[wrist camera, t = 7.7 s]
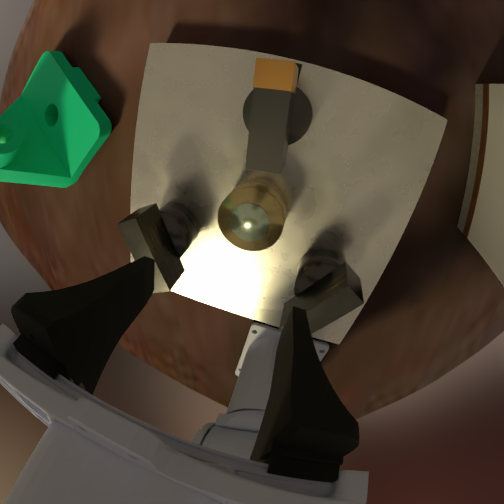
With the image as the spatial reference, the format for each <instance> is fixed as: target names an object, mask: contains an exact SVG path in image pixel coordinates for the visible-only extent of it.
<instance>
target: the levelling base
mask: <svg viewBox="0 0 504 504" xmlns="http://www.w3.org/2000/svg"><path fill="white" fill-rule="evenodd" d="M256 58H267V59H278V60H288V61H295V63H296V65H297V67H298V68H299V70H298V78H297V86H296V87H298V88H299V89H300V90H302V91H303V92H304V93H305V95H306V96H307V97H308V98H309V100H310V102H311V105H312V109H313V118H312V122H311V124H310V127H309V129H308V131H307V132H306V134H305V135H304V136H303V137H302V138H301V139H300V140H298V141H297V142H295V143H293V144H291V145H288V152H287V159H286V164H285V166H284V167H283V169H282V171H281V173H280V174H276V173H270V172H264V171H258V170H251V169H245V165H246V155H247V145H248V135H249V131H248V130H247V128H246V126H245V123H244V120H243V106H244V102H245V100H246V98H247V96H248V95H249V93H250V92H251V91H252V90H253V81H254V72H255V63H256ZM446 123H447V119H445V118H443V117H442V116H440V115H438V114H436V113H434V112H432V111H431V110H429V109H427V108H425V107H423V106H421V105H419V104H417V103H415V102H413V101H411V100H408V99H406V98H404V97H402V96H400V95H398V94H395V93H393V92H391V91H388V90H386V89H384V88H381V87H379V86H376V85H374V84H371V83H369V82H366V81H363V80H361V79H358V78H355V77H352V76H349V75H346V74H343V73H340V72H337V71H334V70H331V69H328V68H324V67H321V66H317V65H314V64H310V63H306V62H302V61H298V60H294V59H290V58H286V57H281V56H277V55H272V54H267V53H261V52H255V51H249V50H243V49H236V48H229V47H220V46H210V45H198V44H181V43H150V48H149V52H148V57H147V62H146V67H145V72H144V78H143V83H142V89H141V96H140V102H139V109H138V117H137V125H136V133H135V143H134V154H133V167H132V184H131V212H130V215H129V216H127V217H126V218H125V219H123V220H122V221H121V222H119V223H118V226H119V229H120V231H121V233H122V235H123V237H124V239H125V242H126V244H127V246H128V248H129V250H130V252H131V262H133V261H135V260H137V259H139V258H141V257H144V256H146V257H149V258H152V259H154V260H155V276H154V291H153V293H156V292H167V291H170V290H171V291H173V292H176V293H179V294H181V295H184V296H187V297H190V298H192V299H195V300H198V301H201V302H203V303H206V304H209V305H212V306H215V307H218V308H221V309H224V310H226V311H229V312H232V313H235V314H238V315H241V316H245V317H248V318H251V319H254V320H257V321H260V322H263V323H266V324H270V325H273V326H276V327H279V329H280V330H281V331H282V330H283V328H284V325H285V323H286V321H287V319H288V317H289V314H290V312H291V310H292V307H293V306H295V307H298V308H301V309H305V310H306V312H307V318H308V323H309V327H310V332H311V335H312V337H314V338H317V339H321V340H325V341H328V342H332V343H336V344H340V343H341V341H342V340H343V338H344V337H345V335H346V333H347V332H348V330H349V329H350V327H351V326H352V324H353V323H354V321H355V319H356V318H357V316H358V315H359V313H360V311H361V310H362V308H363V306H364V305H365V303H366V301H367V300H368V298H369V296H370V295H371V293H372V291H373V289H374V288H375V286H376V284H377V282H378V280H379V279H380V277H381V275H382V273H383V271H384V270H385V268H386V266H387V264H388V262H389V260H390V258H391V256H392V254H393V252H394V251H395V249H396V247H397V245H398V243H399V241H400V239H401V236H402V234H403V232H404V230H405V228H406V226H407V224H408V222H409V220H410V217H411V215H412V213H413V211H414V209H415V206H416V204H417V202H418V199H419V197H420V195H421V192H422V190H423V187H424V185H425V182H426V180H427V177H428V175H429V172H430V170H431V167H432V164H433V162H434V159H435V156H436V154H437V151H438V148H439V145H440V142H441V139H442V136H443V133H444V130H445V127H446Z"/></svg>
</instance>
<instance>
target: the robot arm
mask: <svg viewBox="0 0 504 504" xmlns="http://www.w3.org/2000/svg"><path fill="white" fill-rule="evenodd" d="M154 276H155V260H154V259H152V258H149V257H146V256H144V257H141V258H139V259H137V260H135V261H133V262H131V263H129V264H127V265H125V266H123V267H121V268H119V269H117V270H114V271H112V272H110V273H108V274H105V275H103V276H101V277H98V278H96V279H94V280H91V281H88V282H85V283H82V284H79V285H75V286H71V287H67V288H63V289H59V290H53V291H46V292H35V293H26V294H25V295H24V296H23V297H21V298H20V299H19V300H18V301H17V302H16V303H15V304H14V305H13V306H12V309H11V312H12V316H13V318H14V321H15V323H16V325H17V327H18V329H19V331H20V333H21V335H20V336H19V337H17V336H16V335H15V334H14V333H13V332H12V331H11V330H10V329H9V328H8V327H7V326H5V325H4V324H2V325H1V326H0V383H1V385H2V386H4V387H5V389H7V391H9V392H10V393H11V394H12V395H13V396H14V397H15V398H16V399H17V400H18V401H19V402H20V403H21V404H22V405H23V406H24V407H26V408H27V409H28V410H29V411H30V412H31V413H32V414H34V415H35V416H36V417H37V418H39V420H41V421H42V422H43V423H44V424H46V425H47V426H48V429H47V430H46V432H45V433H44V435H43V437H42V438H41V440H40V441H39V443H38V445H37V446H36V448H35V450H34V451H33V453H32V455H31V456H30V458H29V460H28V461H27V463H26V465H25V467H24V468H23V470H22V472H21V474H20V475H19V477H18V479H17V481H16V483H15V484H14V486H13V488H12V490H11V492H10V494H9V496H8V498H7V500H6V501H5V504H366V501H367V490H368V474H369V473H368V472H367V471H354V470H342V471H339V467H340V465H342V463H343V456H345V455H346V454H348V453H350V452H351V451H353V450H354V449H355V448H357V447H358V445H359V427H358V422H357V421H356V420H355V419H354V417H353V416H352V415H351V414H350V413H349V411H348V410H347V409H346V408H345V406H344V405H343V403H342V402H341V401H340V399H339V397H338V396H337V394H336V392H335V391H334V389H333V388H332V386H331V384H330V382H329V380H328V378H327V376H326V374H325V372H324V370H323V367H322V365H321V363H320V362H321V360H322V359H323V357H324V356H325V354H326V353H327V351H328V350H329V344H328V343H325V342H321V341H318V340H314V339H312V335H311V332H310V327H309V323H308V318H307V312H306V310H305V309H301V308H298V307H295V306H293V307H292V310H291V312H290V314H289V317H288V319H287V321H286V323H285V325H284V328H283V330H282V331H281V330H280V329H276V328H273V327H270V326H267V325H263V324H260V323H256V322H255V323H252V325H251V328H250V331H249V334H248V337H247V340H246V343H245V346H244V348H243V351H242V354H241V357H240V360H239V363H238V366H237V369H236V372H235V374H236V375H237V376H239V377H238V380H237V383H236V386H235V389H234V392H233V395H232V398H231V401H230V404H229V407H228V410H227V413H226V414H220V413H219V414H218V417H217V420H216V422H215V423H208V424H206V425H204V426H203V427H202V428H201V429H200V430H199V431H198V432H197V433H196V435H195V436H194V438H193V440H192V442H191V441H188V440H185V439H183V438H180V437H177V436H175V435H172V434H170V433H167V432H165V431H162V430H160V429H158V428H156V427H153V426H151V425H149V424H147V423H145V422H142V421H140V420H138V419H136V418H134V417H132V416H130V415H128V414H126V413H124V412H122V411H120V410H118V409H116V408H114V407H113V406H111V405H109V404H107V403H105V402H104V401H102V400H100V399H98V398H96V397H95V396H93V392H94V390H95V387H96V384H97V382H98V380H99V378H100V376H101V373H102V371H103V369H104V367H105V365H106V363H107V361H108V359H109V357H110V355H111V353H112V352H113V350H114V348H115V346H116V345H117V343H118V341H119V340H120V338H121V337H122V335H123V334H124V332H125V331H126V330H127V328H128V327H129V326H130V325H131V323H132V322H133V321H134V319H135V318H136V317H137V316H138V314H139V313H140V312H141V310H142V309H143V308H144V306H145V305H146V303H147V302H148V300H149V298H150V297H151V295H152V293H153V291H154ZM254 330H256V331H254Z"/></svg>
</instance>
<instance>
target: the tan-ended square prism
mask: <svg viewBox="0 0 504 504" xmlns="http://www.w3.org/2000/svg"><path fill="white" fill-rule="evenodd" d="M298 70H299V68H298V67H297V65H296V63H295V61H288V60H278V59H267V58H256V63H255V72H254V81H253V90H252V91H251V92H250V93H249V95H248V96H247V98H246V100H245V102H244V106H243V120H244V123H245V126H246V128H247V130H248V131H249V135H248V145H247V155H246V165H245V169H251V170H258V171H264V172H270V173H276V174H280V173H281V171H282V169H283V167H284V166H285V164H286V159H287V152H288V145H291V144H293V143H295V142H297V141H298V140H300V139H301V138H302V137H303V136H304V135H305V134H306V132H307V131H308V129H309V127H310V124H311V122H312V118H313V109H312V105H311V102H310V100H309V98H308V97H307V96H306V95H305V93H304V92H303V91H302V90H300V89H299V88H298V87H296V86H297V78H298Z"/></svg>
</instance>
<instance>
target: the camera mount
mask: <svg viewBox="0 0 504 504" xmlns="http://www.w3.org/2000/svg"><path fill="white" fill-rule="evenodd" d="M100 99H101V97H100V95H99V94H98V93H97V91H96V90H95V88H94V87H93V86H92V84H91V83H90V81H89V80H88V79H87V77H86V76H85V75H84V73H83V72H82V70H81V69H80V68H79V67H72V66H71V65H70V63H69V62H68V60H67V59H66V58H65V56H64V55H63V53H62V52H61V51H46V52H44V53H43V55H42V56H41V58H40V59H39V61H38V63H37V65H36V67H35V69H34V70H33V72H32V74H31V76H30V78H29V80H28V82H27V84H26V86H25V88H24V90H23V92H22V95H21V96H20V97H19V98H18V99H17V100H16V101H15V102H14V103H13V104H12V105H11V106H10V107H9V108H8V109H7V110H6V111H5V112H4V113H3V114H2V115H1V116H0V181H1V182H12V183H23V184H33V185H43V186H52V187H61V188H66V187H68V186H70V185H72V184H74V183H76V181H77V180H78V178H79V177H80V175H81V174H82V172H83V171H84V169H85V168H86V166H87V165H88V164H89V162H90V161H91V159H92V158H93V157H94V155H95V154H96V152H97V151H98V150H99V148H100V147H101V146H102V144H103V143H104V142H105V141H106V139H107V138H108V137H109V135H110V133H111V129H112V125H111V121H110V119H109V118H108V116H107V115H106V114H105V112H104V111H103V110H102V108H101V107H100V106H99V104H98V102H99V101H100Z"/></svg>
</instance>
